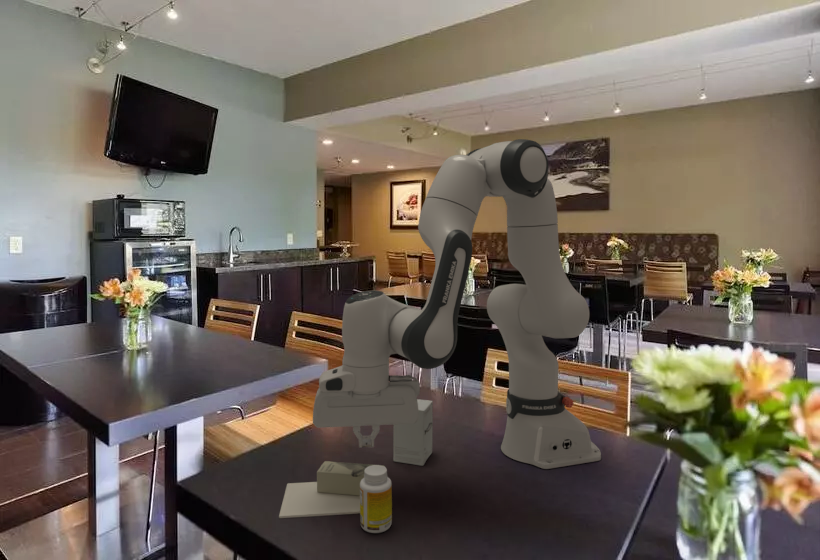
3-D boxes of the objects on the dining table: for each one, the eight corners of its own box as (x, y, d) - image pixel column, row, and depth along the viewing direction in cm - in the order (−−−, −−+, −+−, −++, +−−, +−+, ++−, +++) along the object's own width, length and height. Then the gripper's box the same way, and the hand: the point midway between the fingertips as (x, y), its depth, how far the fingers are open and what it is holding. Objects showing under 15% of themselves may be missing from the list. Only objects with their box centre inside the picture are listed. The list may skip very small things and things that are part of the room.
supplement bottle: (398, 525, 90) (398, 469, 89) (375, 538, 86) (374, 480, 85) (376, 513, 94) (376, 459, 93) (353, 525, 90) (353, 470, 89)
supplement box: (424, 466, 112) (424, 410, 111) (392, 461, 115) (392, 407, 113) (433, 452, 119) (433, 400, 118) (403, 448, 121) (403, 396, 120)
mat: (375, 480, 106) (375, 478, 106) (378, 512, 94) (378, 510, 94) (287, 485, 104) (287, 483, 104) (279, 518, 92) (278, 516, 92)
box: (380, 476, 98) (315, 471, 100) (380, 498, 98) (316, 493, 100) (385, 464, 103) (324, 459, 105) (385, 485, 103) (324, 480, 105)
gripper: (417, 370, 102) (417, 437, 103) (313, 373, 99) (314, 441, 101) (422, 379, 95) (421, 450, 97) (311, 383, 93) (312, 455, 95)
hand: (366, 446), depth 99 cm, fingers closed
